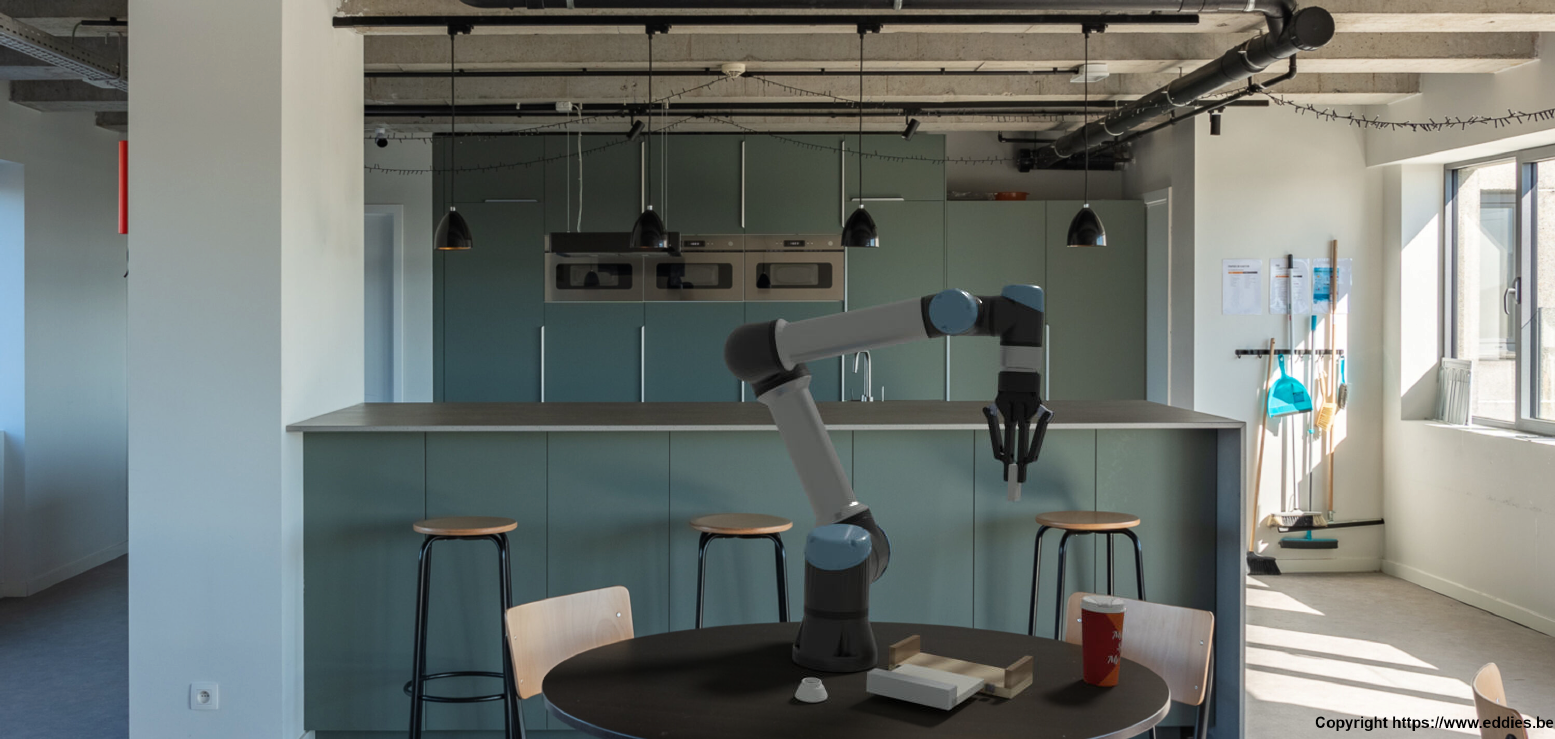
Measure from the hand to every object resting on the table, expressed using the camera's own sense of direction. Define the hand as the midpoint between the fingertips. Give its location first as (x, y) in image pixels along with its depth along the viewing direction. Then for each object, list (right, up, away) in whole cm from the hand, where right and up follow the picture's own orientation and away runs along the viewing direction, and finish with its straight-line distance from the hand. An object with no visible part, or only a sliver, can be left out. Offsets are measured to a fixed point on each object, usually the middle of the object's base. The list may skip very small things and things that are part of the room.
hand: (1013, 500), depth 188 cm
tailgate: (-15, -26, -17) cm, 34 cm away
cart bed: (-12, -29, -12) cm, 34 cm away
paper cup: (+12, -30, -11) cm, 34 cm away
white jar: (-38, -29, -24) cm, 53 cm away
